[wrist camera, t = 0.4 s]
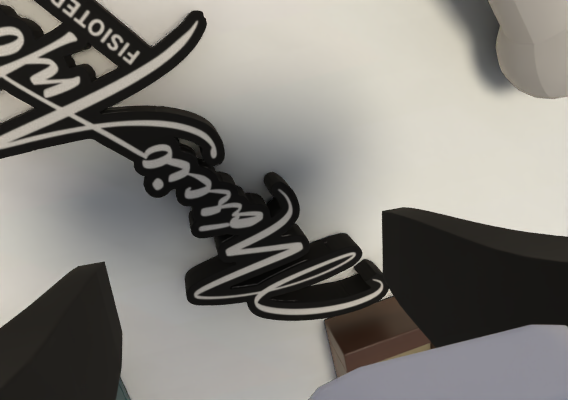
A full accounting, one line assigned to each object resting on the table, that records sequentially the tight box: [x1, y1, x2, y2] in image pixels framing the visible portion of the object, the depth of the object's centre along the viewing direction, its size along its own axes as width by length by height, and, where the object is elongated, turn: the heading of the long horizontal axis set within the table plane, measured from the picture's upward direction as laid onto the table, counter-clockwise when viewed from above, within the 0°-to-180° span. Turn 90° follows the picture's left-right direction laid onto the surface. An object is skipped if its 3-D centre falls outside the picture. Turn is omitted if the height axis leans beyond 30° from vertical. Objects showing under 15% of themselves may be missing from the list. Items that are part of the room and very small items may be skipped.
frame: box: [325, 297, 436, 378], centre depth 26 cm, size 8×7×3 cm
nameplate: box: [0, 0, 389, 321], centre depth 19 cm, size 27×2×10 cm
